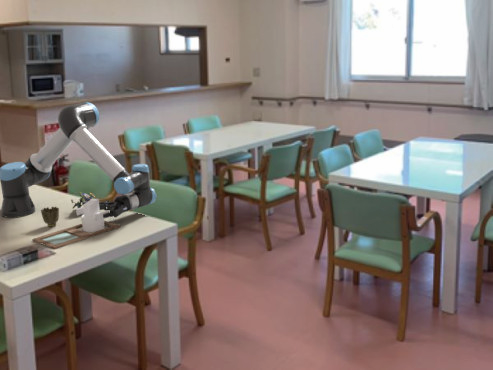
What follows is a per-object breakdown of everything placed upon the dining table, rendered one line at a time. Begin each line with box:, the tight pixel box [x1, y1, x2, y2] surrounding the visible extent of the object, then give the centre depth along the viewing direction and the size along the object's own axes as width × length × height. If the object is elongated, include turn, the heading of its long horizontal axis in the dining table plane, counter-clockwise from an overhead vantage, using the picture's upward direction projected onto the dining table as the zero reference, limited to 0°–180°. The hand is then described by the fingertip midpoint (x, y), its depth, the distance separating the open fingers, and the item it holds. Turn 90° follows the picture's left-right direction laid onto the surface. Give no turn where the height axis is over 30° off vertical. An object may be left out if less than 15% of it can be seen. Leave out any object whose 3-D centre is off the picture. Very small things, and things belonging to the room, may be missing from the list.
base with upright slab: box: [81, 198, 105, 233], centre depth 245 cm, size 9×9×12 cm
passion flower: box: [70, 191, 97, 210], centre depth 271 cm, size 11×11×12 cm
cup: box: [40, 206, 60, 228], centre depth 250 cm, size 8×7×8 cm
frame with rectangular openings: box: [32, 220, 121, 250], centre depth 240 cm, size 16×32×1 cm, turn 140°
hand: (86, 215), depth 242 cm, fingers open, 13 cm apart
